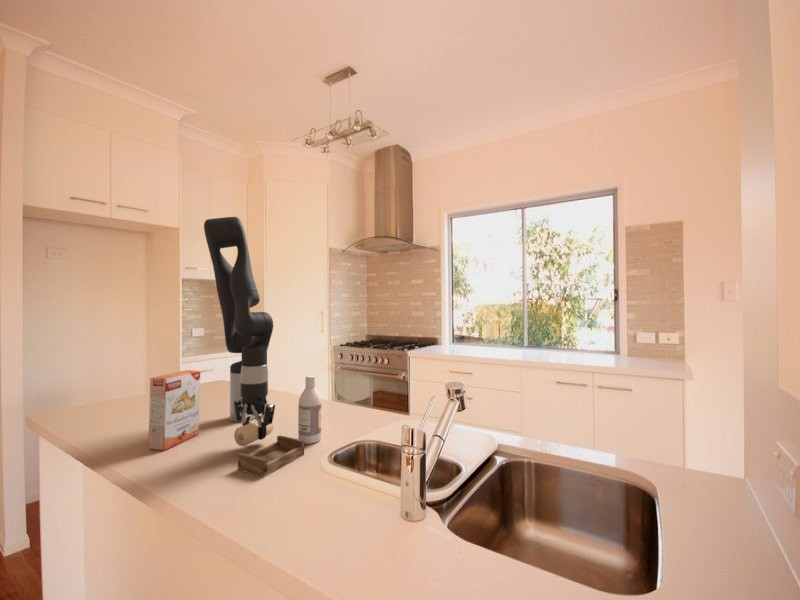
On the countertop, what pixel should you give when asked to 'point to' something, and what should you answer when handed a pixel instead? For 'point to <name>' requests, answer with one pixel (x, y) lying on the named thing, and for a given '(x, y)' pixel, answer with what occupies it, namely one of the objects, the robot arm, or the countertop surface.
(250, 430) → the roll
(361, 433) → the countertop surface
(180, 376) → the cracker box
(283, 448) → the cradle
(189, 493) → the countertop surface
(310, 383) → the bath foam
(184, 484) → the countertop surface
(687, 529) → the countertop surface
